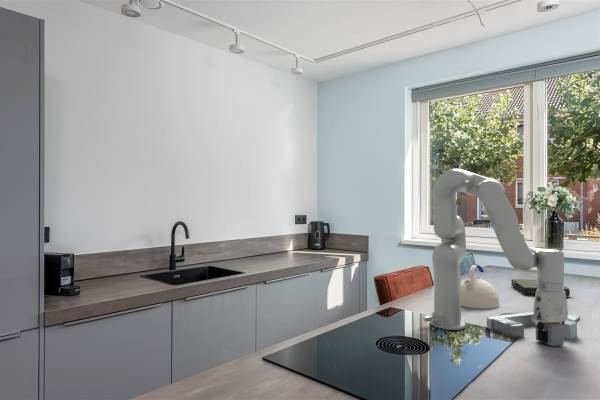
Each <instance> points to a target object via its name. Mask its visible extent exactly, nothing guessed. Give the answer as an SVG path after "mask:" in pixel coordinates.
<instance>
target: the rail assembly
mask: <svg viewBox="0 0 600 400" xmlns="http://www.w3.org/2000/svg"><path fill="white" fill-rule="evenodd" d="M533 316H534V311H531V312H521V313H513V314H504V315H495V316H487V317H486V329H488V330H491V331H495V332H496V333H497V332H498V333H500V334H502V335H505V336H507V337H510V338H512V339H513V338H514V339H515V338H521V337H525V327H526V326H533V325H534V326H535V324H534V323H533V322H532V321H531V319H532V317H533ZM567 320H568V321H571V319H569V318H568V319H567Z"/></svg>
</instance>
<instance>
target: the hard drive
mask: <svg viewBox="0 0 600 400" xmlns="http://www.w3.org/2000/svg"><path fill="white" fill-rule="evenodd" d="M568 318H569V319H571V321H572V322H577V323H578V321H579V320H581V316H579V315H574V314H570V313H568Z"/></svg>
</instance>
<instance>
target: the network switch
mask: <svg viewBox="0 0 600 400" xmlns="http://www.w3.org/2000/svg"><path fill="white" fill-rule="evenodd" d="M536 285H537V279H523V278H522V279H519V278H518V279H517V278H512V279H511V287H512V286H513V287H514V288H513V287H512V288H513V289H515V288H516V289H515V290H517V291H518V292H519V293H520V292H521V294H522V293H523V294H524V295H523V294H522V295H523V296H530V295H535V294H536V290H537V286H536ZM564 291H565V293H566V296H568V297H570V294H571V293H570V288H569V287H568V286H565V285H564Z"/></svg>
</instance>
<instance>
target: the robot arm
mask: <svg viewBox="0 0 600 400" xmlns="http://www.w3.org/2000/svg"><path fill="white" fill-rule="evenodd" d="M458 192H461V193H463V194H466V195H468V196H473V197H474V198H477V199H478V201H479V202H480V204H481V206H482V208H483V210H484V213H485V214H486V216H487V218H488V220H489V221H490V223H491V226H492V228H493V231H494V233H495V235H496V238H497V240H498V243H499V245H500V247H501V250H502V252H503V253H504V255H505V257H506V259H507V261H508V263H509V264H510V265H511V267H512V268H513V269H515V270H517V271H520V272H527V271H529V270H531V269H534V268H535V269H536V280H537V285H536V286H537V290H536V294H535V296H534V302H533V312H534V316H533V317H532V319H531V321H532V322H533V323H534V324H535V325H534V326H535V329H536V328H537V329H538V340H539V341H538V340H537V341H538V342H540V341H541V343H543V344H545V343H548V331H546V330H547V325H548V323H556V322H558V323H561V324H563V325H564V323H565V321H566V320H567V319H568V314H569V312H568V311H569V308H568V300H567V297H566V293H565V291H564V286H565V253H564V252H563V251H561V250H559V249H552V248H542V249H541V248H536V247H532V246H528V245H527V242H526V240H525V238H524V237H523V234H522V232H521V228H520V225H519V224H520V223H519V218H518V215H517V213H516V212H515V209H514V207H513V206H512V205H511V202H510V200H509V199H508V197H507V195H506V188H505V186H504V185H503V183H502V182H500V181H498V180H497V179H493V178H489V177H486V176H483V175H479V174H477V173H474V172H472V171H471V172H470V171H468V170H464V169H461V168H453V169H448V170H447V171H445V172H443V173H442V174H440V175H439V176H438V178H437V179H436V181H435V182H434V185H433V189H432V205H433V209H432V211H433V213H432V214H433V215H432V216H433V231H434V234H435V235H436V237H438V238H439V239H440V241H441V242H440V244H438V245H437V246H436V247H435V248H434V249H433V252H432V256H431V260H432V267H433V268H432V269H433V292H434V293H433V298H434V300H433V303H434V304H433V306H434V307H433V309H434V310H433V312H431V314H430V315H426V316H423V317H422V319H423V321H424V322H430V323H431V324H430V323H429V324H430V325H431V326H432V325H433V326H432V327H434V326H435V327H434V328H437V327H438V328H437V329H440V328H442V329H441V330H445V329H446V330H447V331H458V330H463V329H465V328H466V323H465V322H464V321H462V319H461V317H462V312H461V311H462V306H461V285H460V282H461V272H460V271H461V270H460V264H461V263H462V262H463V261H464V260H465V259H466V256H467V240H466V227H465V223H464V221H463V219H462V218H461V217H460V216H459V215H458V209H457V198H456V194H457V193H458ZM542 322H543V323H544V324H543V325H542V324H541V323H542Z"/></svg>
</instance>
